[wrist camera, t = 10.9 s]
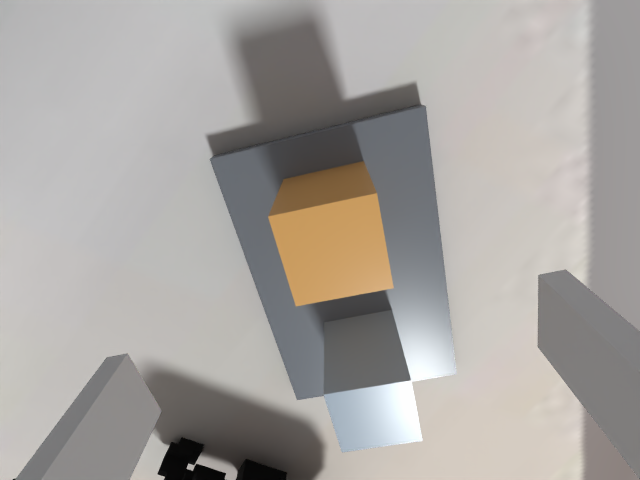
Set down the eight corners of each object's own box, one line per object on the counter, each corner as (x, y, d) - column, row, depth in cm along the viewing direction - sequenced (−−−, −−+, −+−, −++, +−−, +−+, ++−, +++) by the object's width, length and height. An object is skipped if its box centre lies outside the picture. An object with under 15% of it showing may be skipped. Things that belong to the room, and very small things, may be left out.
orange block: (283, 179, 24) (267, 216, 18) (363, 160, 24) (377, 192, 17) (303, 250, 27) (295, 306, 20) (377, 235, 26) (393, 288, 20)
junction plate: (214, 155, 25) (165, 191, 17) (421, 104, 23) (466, 119, 16) (298, 389, 34) (289, 482, 26) (452, 364, 32) (491, 454, 25)
